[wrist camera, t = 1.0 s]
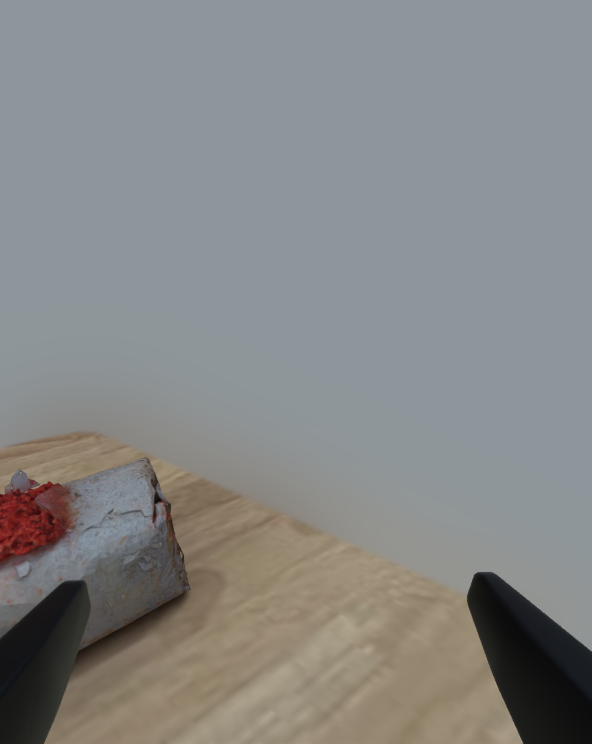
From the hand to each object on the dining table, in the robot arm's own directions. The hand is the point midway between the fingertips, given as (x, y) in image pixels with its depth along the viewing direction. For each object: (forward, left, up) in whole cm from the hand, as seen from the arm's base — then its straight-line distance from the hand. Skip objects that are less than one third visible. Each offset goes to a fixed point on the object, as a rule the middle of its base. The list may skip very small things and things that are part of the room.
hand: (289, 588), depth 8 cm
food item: (+6, +14, -16) cm, 22 cm away
